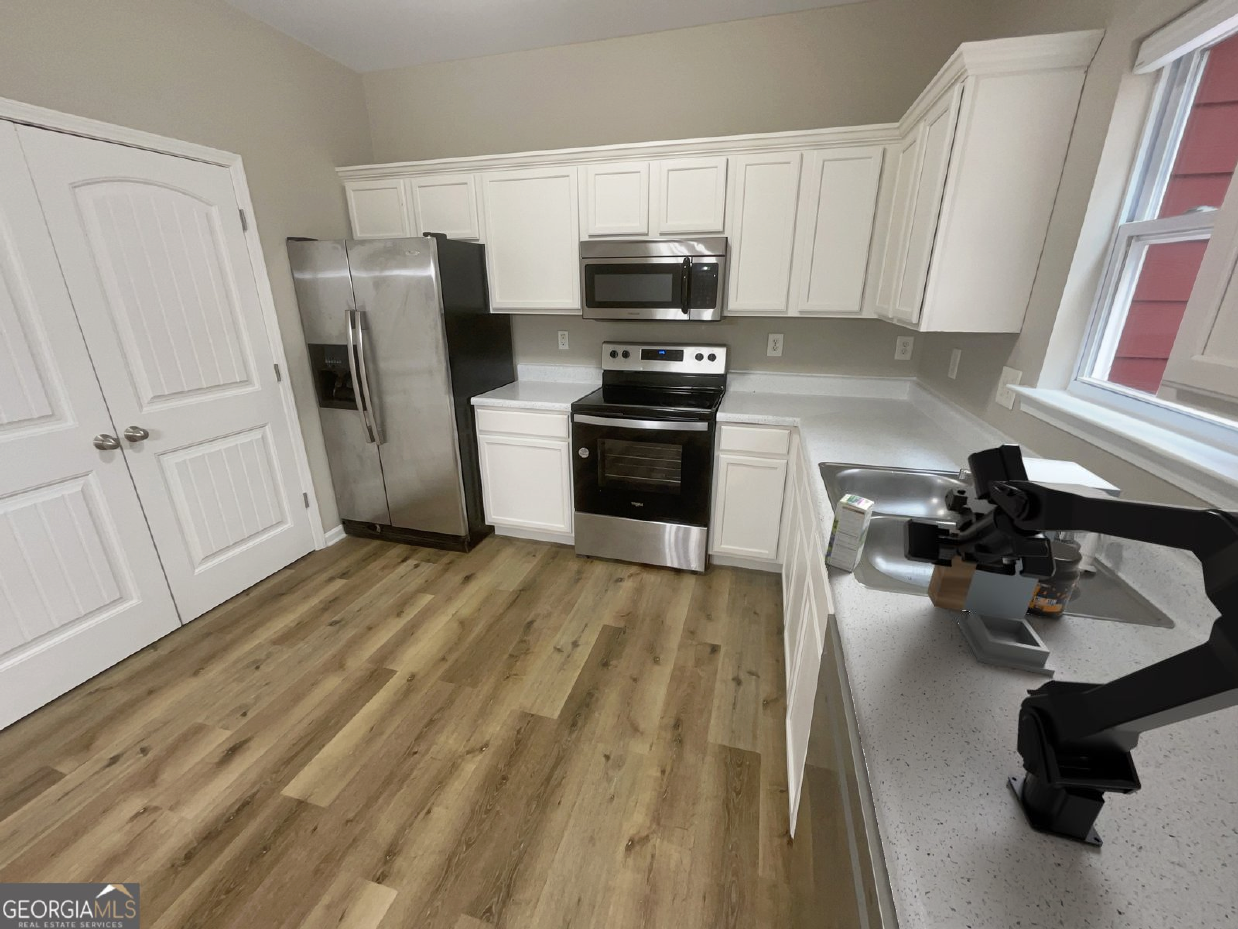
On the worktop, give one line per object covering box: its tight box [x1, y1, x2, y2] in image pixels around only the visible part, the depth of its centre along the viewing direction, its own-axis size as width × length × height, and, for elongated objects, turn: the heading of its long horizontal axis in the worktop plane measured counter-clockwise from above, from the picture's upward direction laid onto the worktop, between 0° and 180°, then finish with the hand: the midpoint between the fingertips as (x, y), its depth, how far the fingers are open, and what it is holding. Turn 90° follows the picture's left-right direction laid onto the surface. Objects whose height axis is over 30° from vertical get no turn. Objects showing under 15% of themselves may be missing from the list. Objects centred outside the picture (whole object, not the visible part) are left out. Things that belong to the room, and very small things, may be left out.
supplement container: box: [1026, 539, 1083, 618], centre depth 92 cm, size 10×10×12 cm
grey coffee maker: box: [963, 456, 1122, 619], centre depth 81 cm, size 12×13×30 cm
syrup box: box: [824, 493, 875, 573], centre depth 103 cm, size 6×6×14 cm
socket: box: [957, 610, 1056, 677], centre depth 82 cm, size 10×10×4 cm
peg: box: [926, 529, 977, 612], centre depth 80 cm, size 4×4×12 cm
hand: (951, 562), depth 81 cm, fingers closed on peg, 4 cm apart
